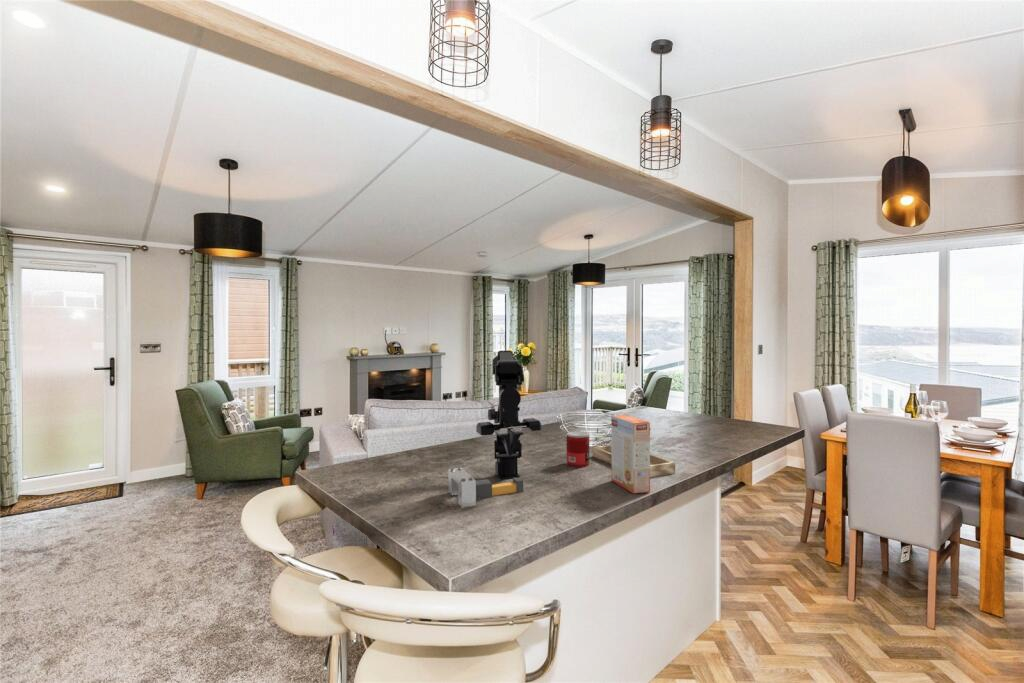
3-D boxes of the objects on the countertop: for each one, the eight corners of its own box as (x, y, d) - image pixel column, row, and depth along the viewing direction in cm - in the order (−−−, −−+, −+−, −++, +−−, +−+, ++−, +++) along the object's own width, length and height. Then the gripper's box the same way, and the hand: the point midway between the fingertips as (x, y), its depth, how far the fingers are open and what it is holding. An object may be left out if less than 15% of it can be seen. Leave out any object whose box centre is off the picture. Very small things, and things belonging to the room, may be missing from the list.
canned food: (591, 467, 169) (590, 435, 169) (568, 467, 169) (567, 436, 169) (587, 461, 176) (587, 431, 176) (565, 461, 177) (565, 431, 176)
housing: (461, 490, 146) (461, 466, 146) (476, 505, 133) (475, 479, 133) (448, 492, 144) (448, 468, 144) (462, 508, 132) (461, 481, 131)
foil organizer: (621, 452, 188) (621, 443, 188) (675, 473, 160) (675, 462, 160) (593, 456, 183) (592, 447, 183) (643, 478, 155) (642, 467, 155)
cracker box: (651, 492, 142) (651, 421, 141) (632, 494, 140) (632, 422, 140) (628, 478, 155) (627, 413, 155) (610, 480, 154) (610, 414, 153)
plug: (518, 488, 148) (518, 475, 148) (523, 492, 144) (523, 478, 144) (471, 495, 142) (471, 481, 142) (475, 499, 138) (475, 485, 138)
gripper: (527, 397, 154) (528, 446, 155) (471, 401, 148) (471, 451, 149) (541, 402, 144) (542, 454, 144) (481, 406, 138) (482, 461, 138)
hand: (509, 455), depth 144 cm, fingers closed
